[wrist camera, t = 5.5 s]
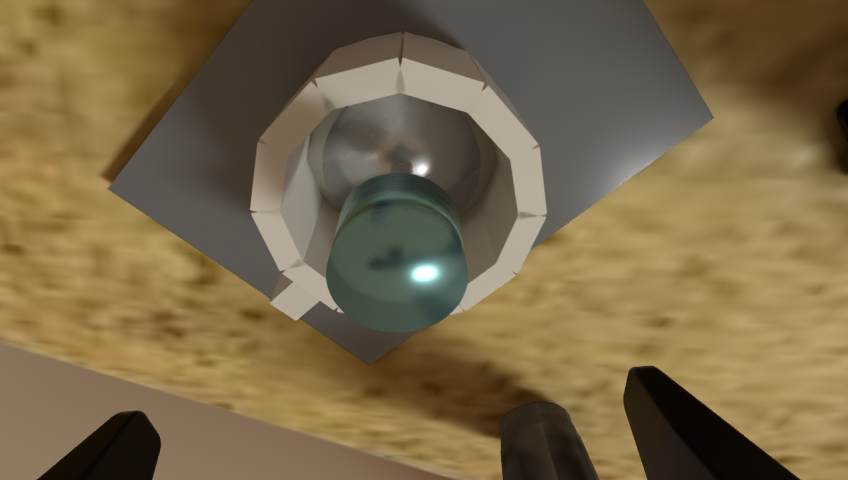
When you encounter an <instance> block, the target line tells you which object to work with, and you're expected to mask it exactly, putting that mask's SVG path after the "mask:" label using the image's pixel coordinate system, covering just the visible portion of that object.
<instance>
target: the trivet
mask: <svg viewBox="0 0 848 480" xmlns="http://www.w3.org/2000/svg"><path fill="white" fill-rule="evenodd" d="M400 31H401V34H404V32H408V33H411V34H415V35H421V36H425V37H429V38H433V39H437V40H439V41H442V42H444V43H447V44H449V45H452V46H453V47H455V48H459V49H462V50H465V51H468V53H469V55H470V54H471V55H472V56H473V57H474V58H475V59H476V60H477V62H478V63H479V64H480V65H481V66H482V68H483V69H484V70H485V71H486V72H487V73H488V74H489V75H490V77H491V78H492V79H493V81H494V82H495V83H496V84H497V85H498V87H499V88H500V89H501V90H502V91H503V93H504V94H505V95H506V96H507V97H508V99H509V100H510V101H511V103H512V104H513V106H514V107H515V109H516V110H517V112H518V113H519V115H520V116H521V118H522V119H523V121H524V123H525V124H526V126H527V127H528V129H529V130H530V132H531V133H532V135H533V136H534V138H535V140H536V141H537V143H538V145H539V147H540V154H541V163H542V172H543V182H544V191H545V200H546V210H547V214H545V216H546V219H545V221H544V223H543V225H542V227H541V229H540V231H539V233H538V235H537V237H536V239H535V241H534V243H533V245H532V247H531V249H532V248H534V247H535V246H537V245H538V244H539V243H541V242H542V241H544V240H545V239H546V238H548V237H549V236H550V235H552V234H553V233H555V232H556V231H557V230H559V229H560V228H562V227H563V226H564V225H566V224H567V223H569V222H570V221H571V220H573V219H574V218H575V217H577V216H578V215H580V214H581V213H582V212H584V211H585V210H587V209H588V208H589V207H591V206H592V205H594V204H595V203H596V202H598V201H599V200H600V199H602V198H603V197H605V196H606V195H607V194H609V193H610V192H612V191H613V190H614V189H616V188H617V187H619V186H620V185H621V184H623V183H624V182H625V181H627V180H628V179H630V178H631V177H632V176H634V175H635V174H637V173H638V172H639V171H641V170H642V169H644V168H645V167H646V166H648V165H649V164H651V163H652V162H653V161H655V160H656V159H657V158H659V157H660V156H662V155H663V154H664V153H666V152H667V151H669V150H670V149H671V148H673V147H674V146H676V145H677V144H678V143H680V142H681V141H682V140H684V139H685V138H687V137H688V136H689V135H691V134H692V133H694V132H695V131H696V130H698V129H699V128H701V127H702V126H703V125H705V124H706V123H707V122H709V121H710V120H712V119H713V118H714V117H713V115H712V113H711V112H710V110H709V108H708V107H707V105H706V103H705V102H704V100H703V99H702V97H701V95H700V94H699V92H698V90H697V89H696V87H695V85H694V84H693V82H692V80H691V79H690V77H689V75H688V74H687V72H686V71H685V69H684V67H683V66H682V64H681V62H680V61H679V59H678V57H677V56H676V54H675V52H674V51H673V49H672V48H671V46H670V44H669V43H668V41H667V39H666V38H665V36H664V34H663V33H662V31H661V29H660V28H659V26H658V25H657V23H656V21H655V20H654V18H653V16H652V15H651V13H650V11H649V10H648V8H647V6H646V5H645V3H644V1H643V0H252V2H251V3H250V4H249V6H248V7H247V8H246V10H245V11H244V12H243V13H242V15H241V16H240V17H239V19H238V20H237V21H236V23H235V24H234V25H233V26H232V28H231V29H230V30H229V32H228V33H227V34H226V36H225V37H224V38H223V39H222V41H221V42H220V43H219V45H218V46H217V47H216V49H215V50H214V51H213V52H212V54H211V55H210V56H209V58H208V59H207V60H206V62H205V63H204V64H203V65H202V67H201V68H200V69H199V71H198V72H197V73H196V75H195V76H194V77H193V78H192V80H191V81H190V82H189V84H188V85H187V86H186V88H185V89H184V90H183V91H182V93H181V94H180V95H179V97H178V98H177V99H176V101H175V102H174V103H173V104H172V106H171V107H170V108H169V110H168V111H167V112H166V114H165V115H164V116H163V117H162V119H161V120H160V121H159V123H158V124H157V125H156V127H155V128H154V129H153V130H152V132H151V133H150V134H149V136H148V137H147V138H146V140H145V141H144V142H143V143H142V145H141V146H140V147H139V149H138V150H137V151H136V153H135V154H134V155H133V156H132V158H131V159H130V160H129V162H128V163H127V164H126V166H125V167H124V168H123V169H122V171H121V172H120V173H119V175H118V176H117V177H116V179H115V180H114V181H113V182H112V184H111V185H110V186H109V188H108V189H109V190H110V191H112V192H113V193H115V194H116V195H118V196H119V197H121V198H122V199H124V200H125V201H127V202H128V203H129V204H131V205H132V206H134V207H135V208H137V209H138V210H140V211H141V212H143V213H144V214H146V215H147V216H149V217H150V218H152V219H153V220H155V221H156V222H158V223H159V224H161V225H162V226H164V227H165V228H167V229H168V230H170V231H171V232H172V233H174V234H175V235H177V236H178V237H180V238H181V239H183V240H184V241H186V242H187V243H189V244H190V245H192V246H193V247H195V248H196V249H198V250H199V251H201V252H202V253H204V254H205V255H207V256H208V257H210V258H211V259H213V260H214V261H216V262H217V263H218V264H220V265H221V266H223V267H224V268H226V269H227V270H229V271H230V272H232V273H233V274H235V275H236V276H238V277H239V278H241V279H242V280H244V281H245V282H247V283H248V284H250V285H251V286H253V287H254V288H256V289H257V290H259V291H260V292H261V293H263V294H264V295H266V296H267V297H269V298H270V299H271V298H272V296H273V293H274V291H275V288H276V285H277V283H278V280H279V278H280V275H281V273H282V271H279V269H278V267H277V265H276V263H275V261H274V259H273V257H272V255H271V253H270V251H269V249H268V247H267V245H266V243H265V241H264V239H263V237H262V235H261V233H260V231H259V229H258V227H257V225H256V223H255V221H254V219H253V217H252V215H251V213H252V210H250V206H251V197H252V188H253V179H254V170H255V161H256V152H257V143H258V141H259V140H260V139H259V138H260V137H261V136H262V134H263V133H264V132H265V131H266V129H267V128H268V127H269V126H270V124H271V123H272V122H273V121H274V119H275V118H276V117H277V116H278V114H279V113H280V112H281V111H282V109H283V108H284V107H285V106H286V104H287V103H288V102H289V101H290V99H291V98H292V97H293V96H294V94H295V93H296V92H297V91H298V90H299V89H300V88H301V87H302V85H303V84H304V83H305V82H306V81H307V80H308V79H309V78H310V77H311V75H312V74H313V73H314V72H315V71H316V70H317V69H318V68H319V66H320V65H321V64H322V63H323V62H324V61H325V60H326V59H327V58H328V56H329V55H330V54H331V53H332V52H333V51H334V50H335V51H336V49H337V48H339V47H343V46H347V45H351V44H353V43H355V42H358V41H361V40H364V39H367V38H370V37H375V36H380V35H385V34H393V33H396V32H400ZM531 249H530V250H531ZM337 309H338V307H337V308H336V309H335V310H333V309H331V308H330V307H328V306H327V305H326V304H324V303H323V302H321V301H319V302H318V303H317V304H315V305H314V306H313V307H312V308H311V309H310V310H308V311H307V312H306V313H305V314H304V315H302V316H301V317H300V319H302V320H303V321H305V322H306V323H307V324H309V325H310V326H312V327H313V328H315V329H316V330H318V331H319V332H321V333H322V334H324V335H325V336H327V337H328V338H330V339H331V340H333V341H334V342H336V343H337V344H339V345H340V346H342V347H343V348H345V349H346V350H348V351H349V352H350V353H352V354H353V355H355V356H356V357H358V358H359V359H361V360H362V361H364V362H365V363H367V364H368V365H371V364H373V363H374V362H375V361H377V360H378V359H380V358H381V357H382V356H384V355H385V354H387V353H388V352H389V351H391V350H392V349H393V348H395V347H396V346H398V345H399V344H400V343H402V342H403V341H405V340H406V339H407V338H409V337H410V336H412V335H413V334H414V333H416V332H417V331H418V330H415V331H409V332H387V331H380V330H376V329H372V328H370V327H367V326H364V325H362V324H360V323H358V322H356V321H355V320H353V319H351V318H350V317H349V316H347V315H346V314H345V313H341V312H337Z"/></svg>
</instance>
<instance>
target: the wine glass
mask: <svg viewBox="0 0 848 480" xmlns="http://www.w3.org/2000/svg"><path fill="white" fill-rule="evenodd" d="M322 165H323V174H324V179H325V182H326V185H327V188H328V190H329V192H330V194H331V196H332V198H333V199H334V201H335V203H336V204H337V205H338V206H339V208H340V209H341V214H340V217H339V221H338V225H337V229H336V232H335V236H334V240H333V244H332V247H331V251H330V255H329V259H328V263H327V268H326V282H327V287H328V290H329V292H330V295H331V297H332V298H333V300H334V302H335V303H336V304H337V306H338V307H339V308H340V309H341V310H342V311H343V312H344V313H345V314H346V315H347V316H349V317H350V318H351V319H353V320H355V321H356V322H358V323H360V324H362V325H364V326H367V327H370V328H372V329H376V330H380V331H387V332H409V331H415V330H420V329H423V328H426V327H429V326H431V325H434V324H436V323H438V322H439V321H441V320H443V319H444V318H446V317H447V316H448V315H449V314H450V313H452V312H453V310H454V309H455V308H456V307H457V306H458V305H459V303H460V302H461V300H462V298H463V296H464V294H465V291H466V288H467V284H468V269H467V263H466V257H465V251H464V246H463V240H462V234H461V228H460V223H459V217H458V215H459V214H460V213H461V212H462V211H463V209H464V208H465V207H466V206H467V205H468V203H469V201H470V200H471V198H472V197H473V194H474V192H475V190H476V188H477V184H478V181H479V176H480V169H481V159H480V151H479V147H478V143H477V140H476V137H475V135H474V132H473V130H472V127H471V126H470V124H469V122H468V120H467V119H466V117H465V116H464V115H463V114H462V112H461V111H460V110H457V109H453V108H450V107H447V106H443V105H440V104H436V103H433V102H430V101H426V100H423V99H419V98H416V97H413V96H409V95H406V94H402V93H398V94H394V95H390V96H386V97H382V98H378V99H374V100H370V101H366V102H362V103H358V104H354V105H350V106H346V107H345V108H344V109H343V110H342V112H341V113H340V114H339V115H338V116H337V118H336V120H335V121H334V123H333V125H332V127H331V129H330V131H329V134H328V136H327V138H326V141H325V145H324V149H323V157H322Z"/></svg>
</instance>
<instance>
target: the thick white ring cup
mask: <svg viewBox="0 0 848 480" xmlns="http://www.w3.org/2000/svg"><path fill="white" fill-rule="evenodd" d="M398 93H402V94H406V95H409V96H413V97H416V98H419V99H423V100H426V101H430V102H433V103H436V104H440V105H443V106H447V107H450V108H453V109H457V110H460V111H461V112H462V114H463V115H464V116H465V117H466V119H467V120H468V122H469V124H470V126H471V127H472V130H473V132H474V135H475V137H476V140H477V143H478V147H479V151H480V159H481V169H480V176H479V181H478V184H477V188H476V190H475V192H474V194H473V197H472V198H471V200H470V201H469V203H468V205H467V206H466V207H465V208H464V209H463V211H462V212H461V213H460V214H459V215H458V217H459V223H460V228H461V234H462V240H463V246H464V251H465V257H466V263H467V269H468V284H467V288H466V291H465V294H464V296H463V298H462V300H461V302H460V303H459V305H458V306H457V307H456V308H455V309H454V310H453V312H452V313H450V314H449V315H452V314H457V313H462V312H463V311H462V308H463V309H464V310H465V311H467V310H468V309H470V308H471V307H472V306H474V305H475V304H477V303H478V302H479V301H481V300H482V299H484V298H485V297H487V296H488V295H489V294H491V293H492V292H494V291H495V290H496V289H498V288H499V287H501V286H502V285H504V284H505V283H506V282H508V281H509V280H511V279H512V278H513V277H515V276H516V274H515V272H516V273H519V271H520V269H521V267H522V265H523V263H524V261H525V259H526V257H527V255H528V253H529V251H530V249H531V247H532V245H533V243H534V241H535V239H536V237H537V235H538V233H539V231H540V229H541V227H542V225H543V223H544V221H545V219H546V216H545V214H547V210H546V200H545V191H544V182H543V172H542V163H541V154H540V147H539V145H538V143H537V141H536V140H535V138H534V136H533V135H532V133H531V132H530V130H529V129H528V127H527V126H526V124H525V123H524V121H523V119H522V118H521V116H520V115H519V113H518V112H517V110H516V109H515V107H514V106H513V104H512V103H511V101H510V100H509V99H508V97H507V96H506V95H505V94H504V93H503V91H502V90H501V89H500V88H499V87H498V85H497V84H496V83H495V82H494V81H493V79H492V78H491V77H490V75H489V74H488V73H487V72H486V71H485V70H484V69H483V68H482V66H481V65H480V64H479V63H478V62H477V60H476V59H475V58H474V57H473V56H472V55H471V54H470V55H469V53H468V51H465V50H462V49H459V48H455V47H453V46H452V45H449V44H447V43H444V42H442V41H439V40H437V39H433V38H429V37H425V36H421V35H415V34H411V33H408V32H404V34H401V31H400V32H396V33H393V34H385V35H380V36H375V37H370V38H367V39H364V40H361V41H358V42H355V43H353V44H351V45H347V46H343V47H339V48H337V49H336V51H335V50H334V51H333V52H332V53H331V54H330V55H329V56H328V58H327V59H326V60H325V61H324V62H323V63H322V64H321V65H320V66H319V68H318V69H317V70H316V71H315V72H314V73H313V74H312V75H311V77H310V78H309V79H308V80H307V81H306V82H305V83H304V84H303V85H302V87H301V88H300V89H299V90H298V91H297V92H296V93H295V94H294V96H293V97H292V98H291V99H290V101H289V102H288V103H287V104H286V106H285V107H284V108H283V109H282V111H281V112H280V113H279V114H278V116H277V117H276V118H275V119H274V121H273V122H272V123H271V124H270V126H269V127H268V128H267V129H266V131H265V132H264V133H263V134H262V136H261V137H260V138H259V139H260V140H259V141H258V143H257V152H256V161H255V170H254V179H253V188H252V197H251V206H250V210H252V213H251V215H252V217H253V219H254V221H255V223H256V225H257V227H258V229H259V231H260V233H261V235H262V237H263V239H264V241H265V243H266V245H267V247H268V249H269V251H270V253H271V255H272V257H273V259H274V261H275V263H276V265H277V267H278V269H279V271H282V273H281V275H280V278H279V280H278V283H277V285H276V288H275V291H274V293H273V296H272V298H271V301H270V304H271V305H273V306H274V307H276V308H277V309H279V310H280V311H282V312H283V313H285V314H286V315H288V316H289V317H291V318H292V319H294V320H295V321H296V320H298V319H299V318H300V317H301V316H302V315H304V314H305V313H306V312H307V311H308V310H310V309H311V308H312V307H313V306H314V305H315V304H317V303H318V302H319V301H321V302H323V303H324V304H326V305H327V306H328V307H330V308H331V309H333V310H335V309H336V308H337V307H338V306H337V304H336V303H335V302H334V300H333V298H332V297H331V295H330V292H329V290H328V287H327V282H326V268H327V263H328V259H329V255H330V251H331V247H332V244H333V240H334V236H335V232H336V229H337V225H338V221H339V217H340V214H341V209H340V208H339V206H338V205H337V204H336V203H335V201H334V199H333V198H332V196H331V194H330V192H329V190H328V188H327V185H326V182H325V179H324V174H323V165H322V157H323V149H324V145H325V141H326V138H327V136H328V134H329V131H330V129H331V127H332V125H333V123H334V121H335V120H336V118H337V116H338V115H339V114H340V113H341V112H342V110H343V109H344V108H345V107H346V106H350V105H354V104H358V103H362V102H366V101H370V100H374V99H378V98H382V97H386V96H390V95H394V94H398ZM337 312H341V313H344V312H343V311H342V310H341V309H340V308H339V307H338V309H337Z"/></svg>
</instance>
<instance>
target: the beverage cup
mask: <svg viewBox="0 0 848 480" xmlns="http://www.w3.org/2000/svg"><path fill="white" fill-rule="evenodd" d="M500 433H501V463H502V474H503V480H599V478H598V475H597V473H596V471H595V469H594V467H593V464H592V462H591V460H590V458H589V455H588V453H587V451H586V449H585V446H584V444H583V442H582V440H581V437H580V436H579V435H578V433H577V431H576V429H575V427H574V425H573V424H572V422H571V419H570V416H569V414H568V413H567V412H566V410H565V409H563V408H561V407H560V406H558V405H555V404H550V403H531V404H526V405H522V406H520V407H518V408H515V409H513V410H512V411H511V412H509V413H508V414H507V415H506V416H505V417H504V418H503V420H502V421H501V425H500Z"/></svg>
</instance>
